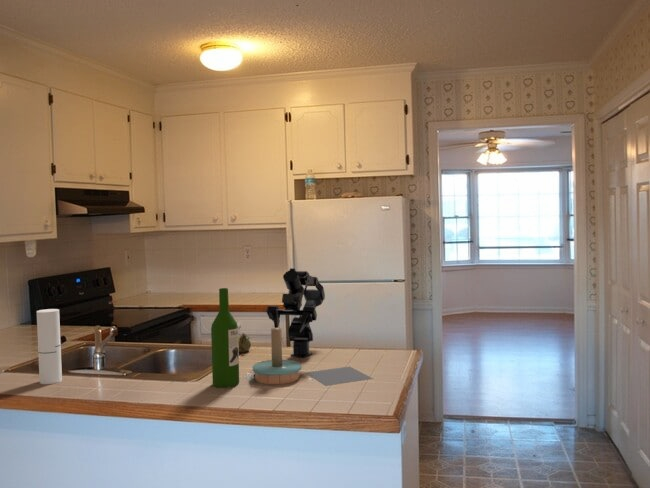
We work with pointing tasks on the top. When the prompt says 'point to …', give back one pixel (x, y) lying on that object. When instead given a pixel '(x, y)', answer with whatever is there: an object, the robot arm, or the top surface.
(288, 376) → the bowl
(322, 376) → the mat
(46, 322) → the cylindrical container
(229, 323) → the wine bottle
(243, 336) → the artichoke
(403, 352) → the top surface
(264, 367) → the teal disc with post
